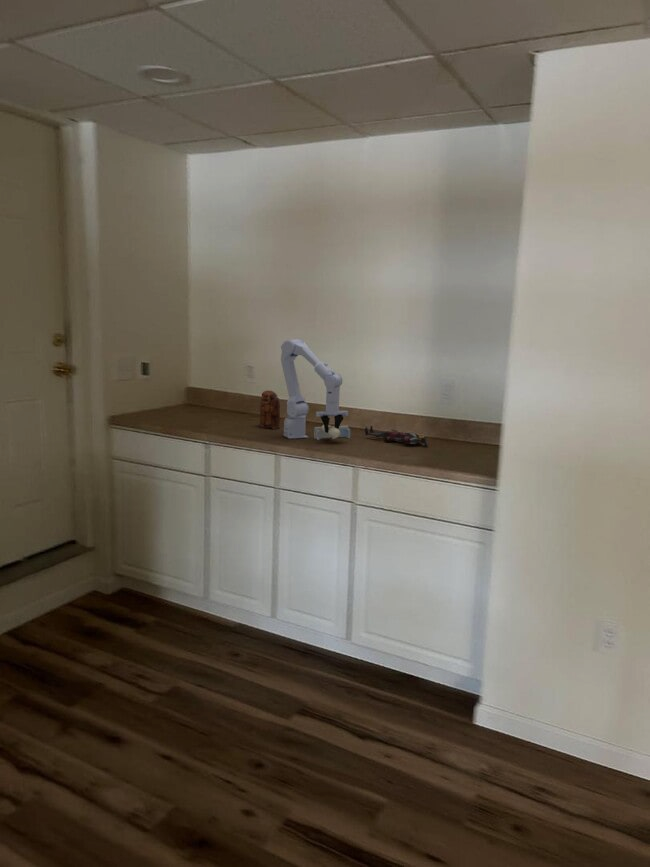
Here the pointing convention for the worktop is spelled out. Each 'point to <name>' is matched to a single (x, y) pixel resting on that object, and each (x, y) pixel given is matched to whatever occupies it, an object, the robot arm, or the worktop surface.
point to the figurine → (398, 436)
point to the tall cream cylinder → (331, 431)
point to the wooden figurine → (269, 410)
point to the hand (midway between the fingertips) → (331, 432)
